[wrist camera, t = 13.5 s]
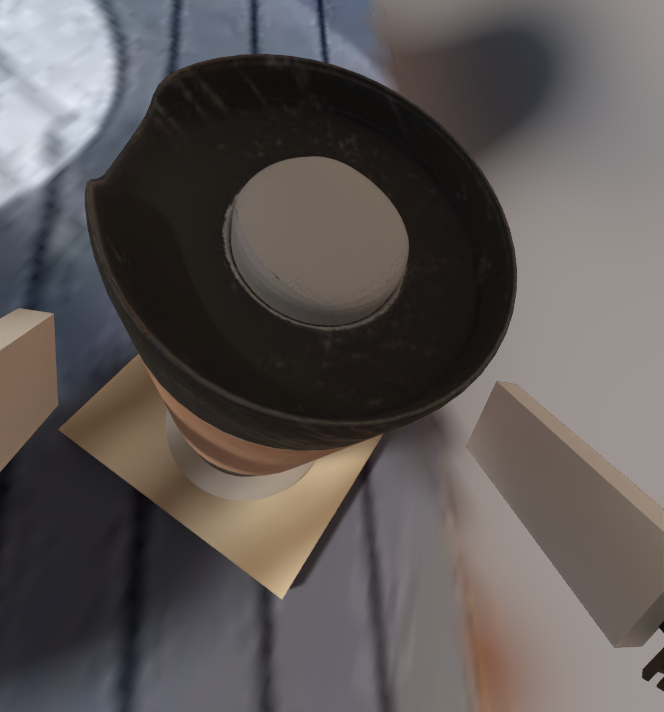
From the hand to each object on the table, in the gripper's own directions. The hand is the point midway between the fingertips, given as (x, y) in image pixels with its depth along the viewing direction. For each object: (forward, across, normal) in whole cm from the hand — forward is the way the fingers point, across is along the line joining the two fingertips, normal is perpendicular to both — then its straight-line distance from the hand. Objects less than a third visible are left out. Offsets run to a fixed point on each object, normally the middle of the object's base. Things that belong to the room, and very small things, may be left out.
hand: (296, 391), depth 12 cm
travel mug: (+11, 0, -9) cm, 14 cm away
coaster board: (+12, 0, -10) cm, 16 cm away
